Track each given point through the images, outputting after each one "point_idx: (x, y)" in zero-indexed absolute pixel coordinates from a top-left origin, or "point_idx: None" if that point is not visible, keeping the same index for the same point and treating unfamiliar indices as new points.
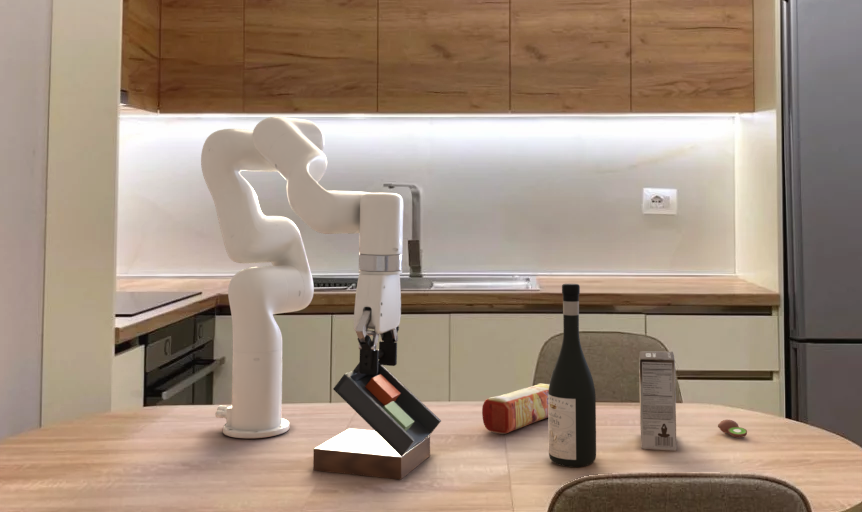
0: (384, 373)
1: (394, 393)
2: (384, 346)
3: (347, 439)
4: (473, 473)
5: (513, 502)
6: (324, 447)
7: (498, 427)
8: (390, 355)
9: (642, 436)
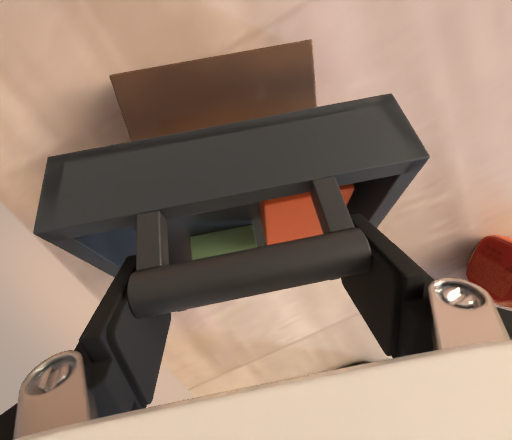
0: (377, 188)
1: (300, 238)
2: (380, 295)
3: (220, 105)
4: (263, 315)
5: (188, 390)
6: (133, 95)
7: (474, 265)
8: (359, 293)
9: None
